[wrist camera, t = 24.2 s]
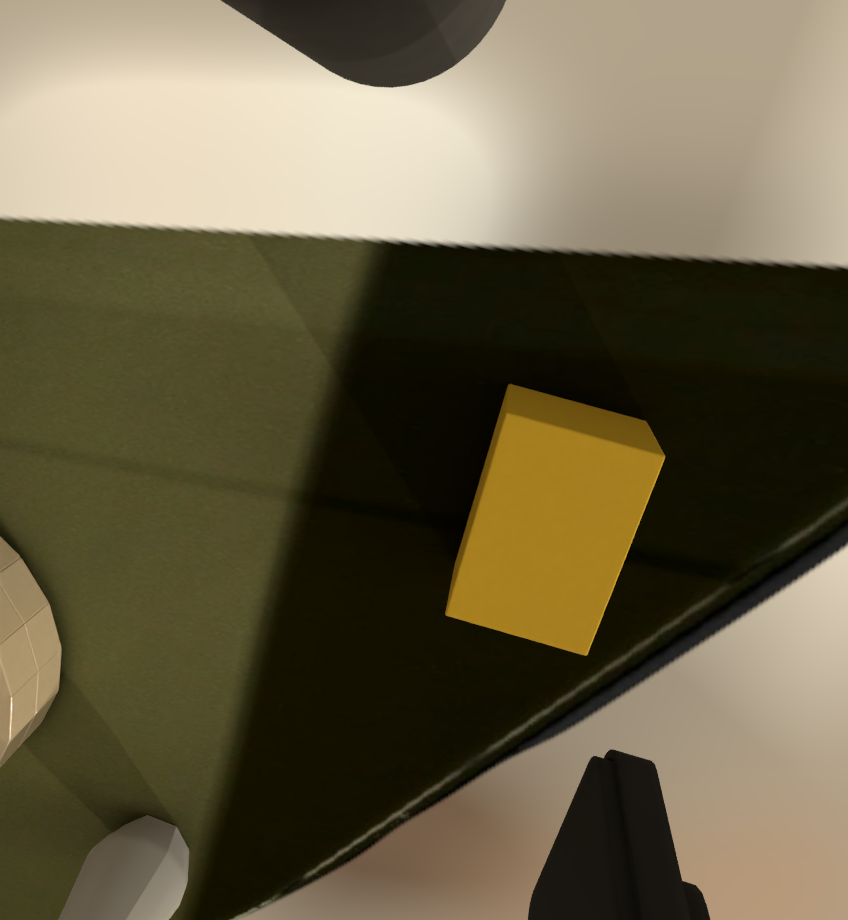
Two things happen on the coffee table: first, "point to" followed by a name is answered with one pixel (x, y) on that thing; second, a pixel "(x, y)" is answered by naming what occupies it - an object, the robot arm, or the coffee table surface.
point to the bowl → (24, 653)
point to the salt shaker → (132, 875)
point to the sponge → (552, 518)
